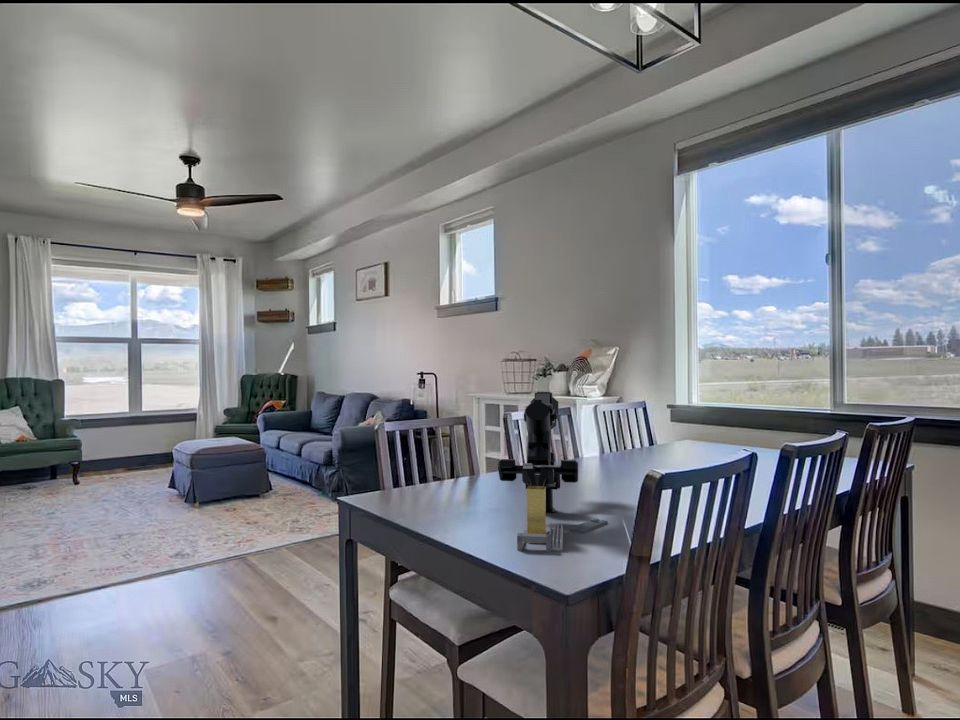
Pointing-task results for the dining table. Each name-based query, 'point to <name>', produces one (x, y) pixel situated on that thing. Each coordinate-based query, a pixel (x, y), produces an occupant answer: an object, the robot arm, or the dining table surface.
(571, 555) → the dining table surface
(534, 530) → the yellow rectangular block
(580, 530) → the dark grey flat block
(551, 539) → the socket board
